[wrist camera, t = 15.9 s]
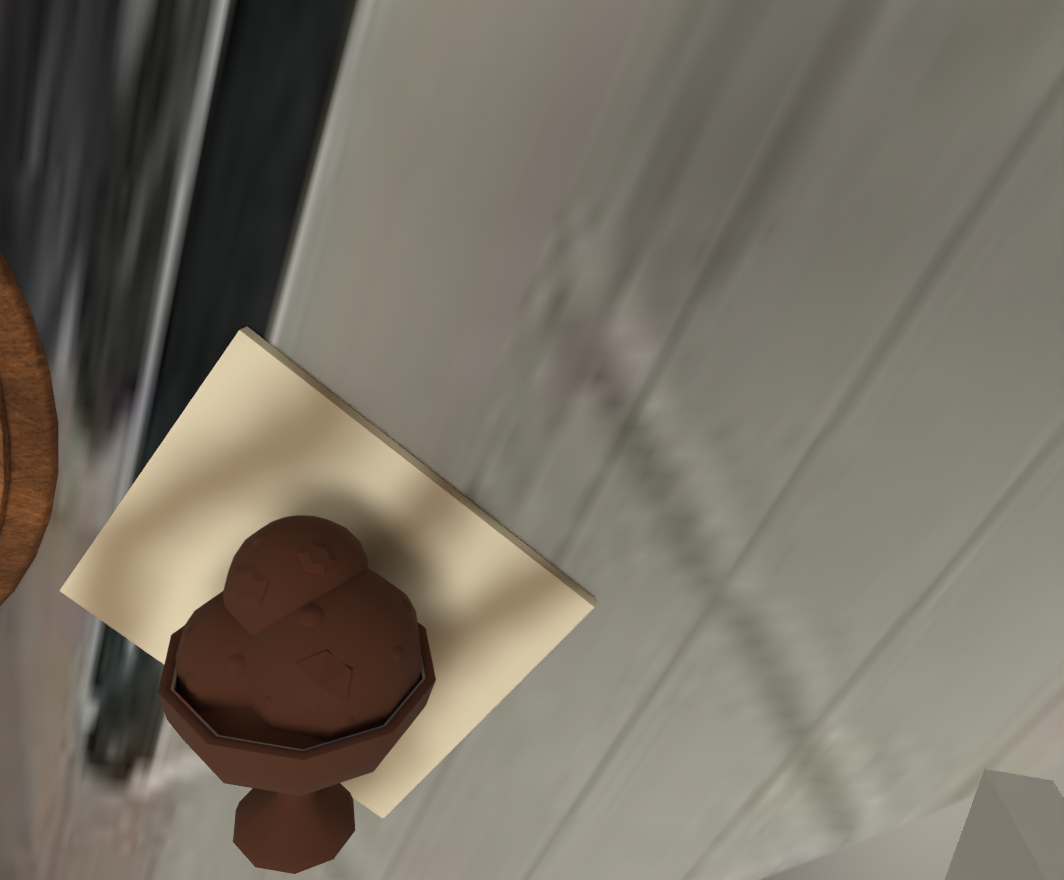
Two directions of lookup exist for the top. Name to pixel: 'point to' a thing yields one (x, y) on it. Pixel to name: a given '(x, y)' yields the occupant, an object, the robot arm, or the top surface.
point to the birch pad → (349, 500)
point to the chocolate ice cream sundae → (297, 685)
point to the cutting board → (23, 436)
